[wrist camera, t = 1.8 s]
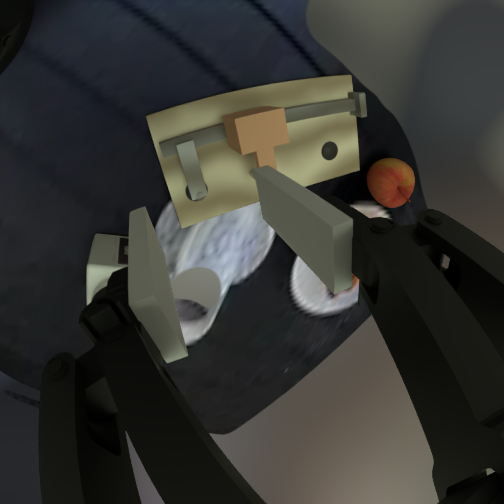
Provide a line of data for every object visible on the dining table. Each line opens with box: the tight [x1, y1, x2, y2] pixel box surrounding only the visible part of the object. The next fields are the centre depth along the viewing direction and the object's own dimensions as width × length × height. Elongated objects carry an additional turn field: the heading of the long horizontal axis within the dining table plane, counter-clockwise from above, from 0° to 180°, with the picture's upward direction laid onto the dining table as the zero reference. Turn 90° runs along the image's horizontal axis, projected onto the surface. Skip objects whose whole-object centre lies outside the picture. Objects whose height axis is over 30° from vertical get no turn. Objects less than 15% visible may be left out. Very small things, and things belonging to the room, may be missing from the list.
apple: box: [367, 158, 415, 208], centre depth 39 cm, size 7×7×8 cm
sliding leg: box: [222, 106, 290, 179], centre depth 30 cm, size 8×5×6 cm, turn 12°
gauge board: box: [146, 75, 367, 228], centre depth 33 cm, size 14×26×4 cm, turn 102°
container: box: [87, 233, 129, 305], centre depth 30 cm, size 8×8×13 cm
